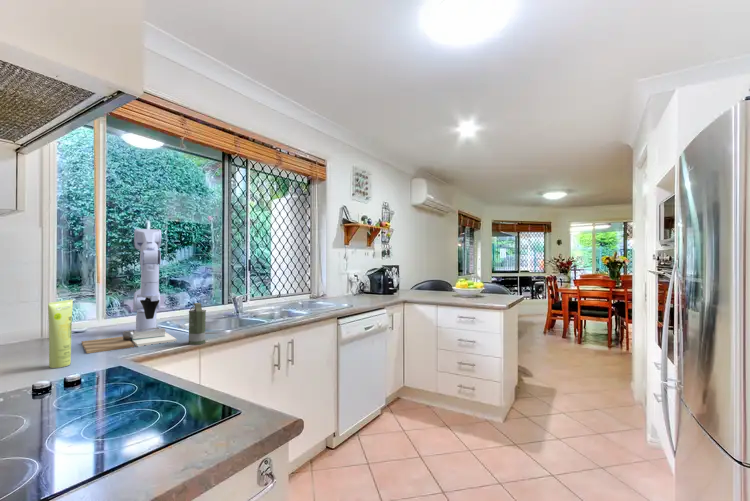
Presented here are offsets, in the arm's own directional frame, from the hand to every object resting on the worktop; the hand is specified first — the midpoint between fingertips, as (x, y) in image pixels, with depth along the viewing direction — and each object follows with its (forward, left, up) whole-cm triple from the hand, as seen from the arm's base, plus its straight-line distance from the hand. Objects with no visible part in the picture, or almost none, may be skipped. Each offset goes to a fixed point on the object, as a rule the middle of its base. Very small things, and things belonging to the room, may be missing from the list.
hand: (149, 318), depth 140 cm
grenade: (+10, +14, -10) cm, 20 cm away
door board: (-7, +2, -9) cm, 12 cm away
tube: (+14, -26, -10) cm, 31 cm away
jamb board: (-7, -12, -9) cm, 17 cm away
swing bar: (-7, 0, -8) cm, 11 cm away
